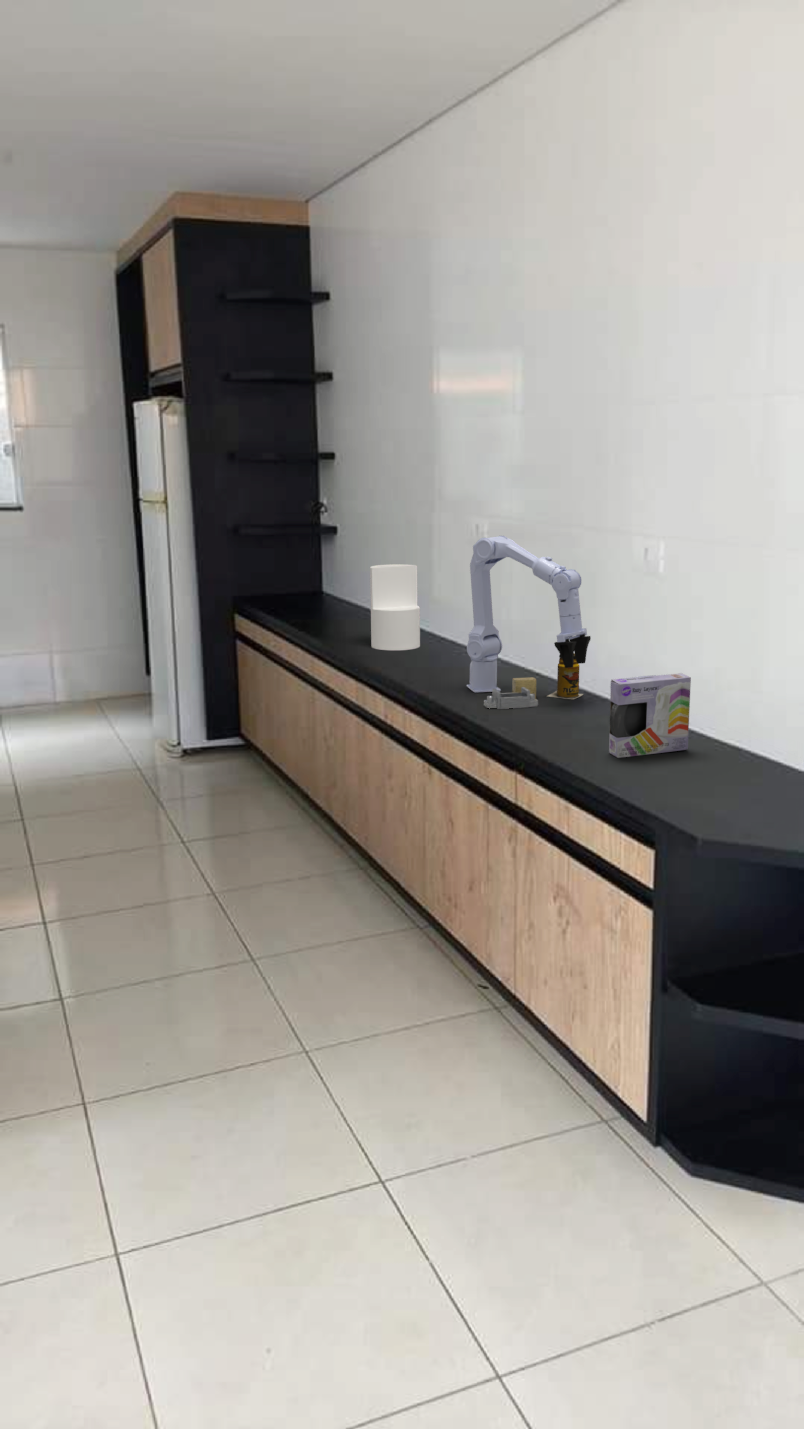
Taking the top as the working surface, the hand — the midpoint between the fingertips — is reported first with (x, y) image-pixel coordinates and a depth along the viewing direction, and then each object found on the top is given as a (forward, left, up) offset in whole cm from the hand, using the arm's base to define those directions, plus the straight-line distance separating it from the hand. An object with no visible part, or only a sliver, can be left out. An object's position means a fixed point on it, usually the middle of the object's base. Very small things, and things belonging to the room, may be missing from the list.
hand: (575, 665), depth 305 cm
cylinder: (-102, -30, -11) cm, 107 cm away
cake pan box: (+52, -1, -11) cm, 53 cm away
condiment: (-10, +1, -11) cm, 15 cm away
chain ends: (-1, -18, -11) cm, 21 cm away
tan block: (-10, -11, -11) cm, 19 cm away
